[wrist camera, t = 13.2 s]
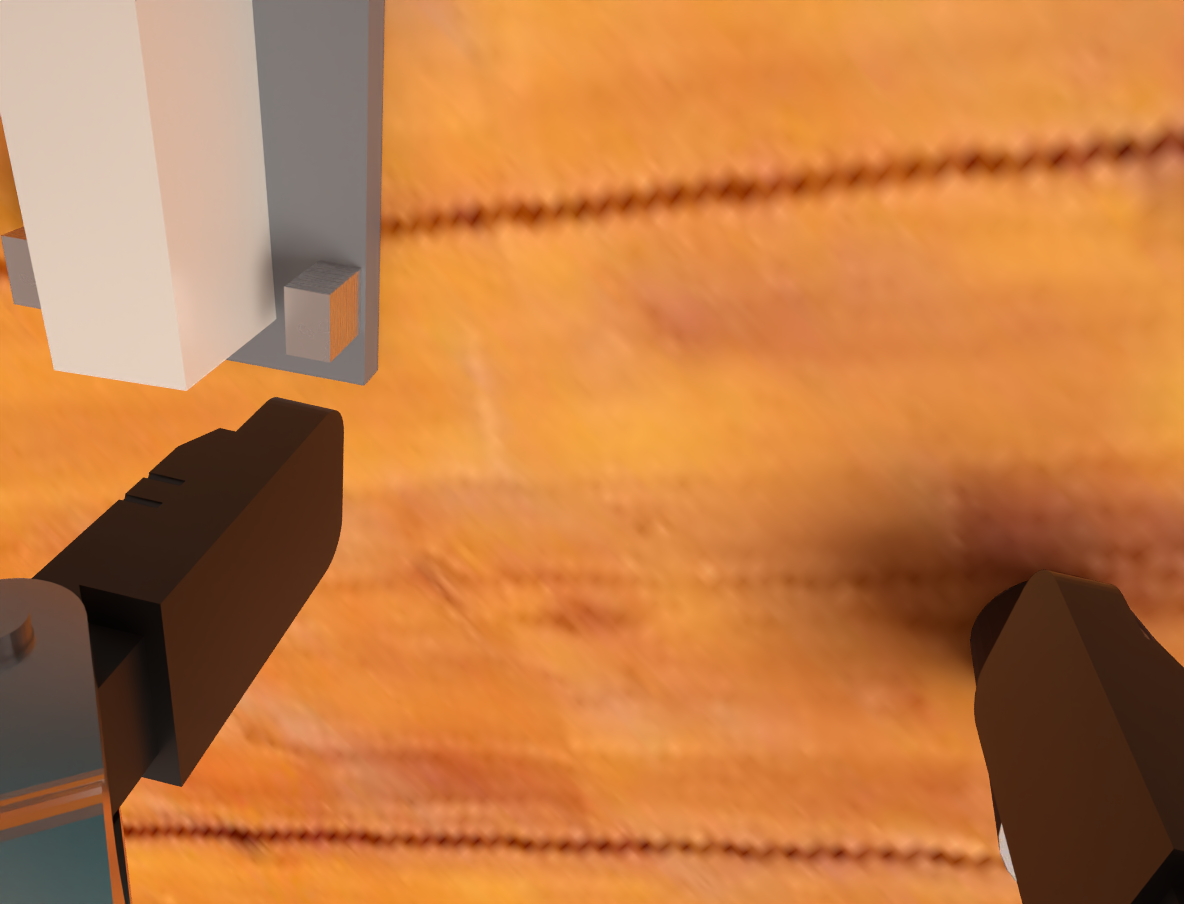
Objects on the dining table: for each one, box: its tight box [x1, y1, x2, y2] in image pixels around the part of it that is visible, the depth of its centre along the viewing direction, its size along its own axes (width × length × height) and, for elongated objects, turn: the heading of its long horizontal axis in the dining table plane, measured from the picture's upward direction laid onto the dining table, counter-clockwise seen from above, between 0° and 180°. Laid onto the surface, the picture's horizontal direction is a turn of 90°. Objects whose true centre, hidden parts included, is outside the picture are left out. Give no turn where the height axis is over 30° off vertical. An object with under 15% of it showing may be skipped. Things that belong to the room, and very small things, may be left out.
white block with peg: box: [0, 0, 276, 391], centre depth 27 cm, size 16×4×10 cm, turn 174°
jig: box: [1, 0, 385, 385], centre depth 31 cm, size 20×12×4 cm, turn 172°
